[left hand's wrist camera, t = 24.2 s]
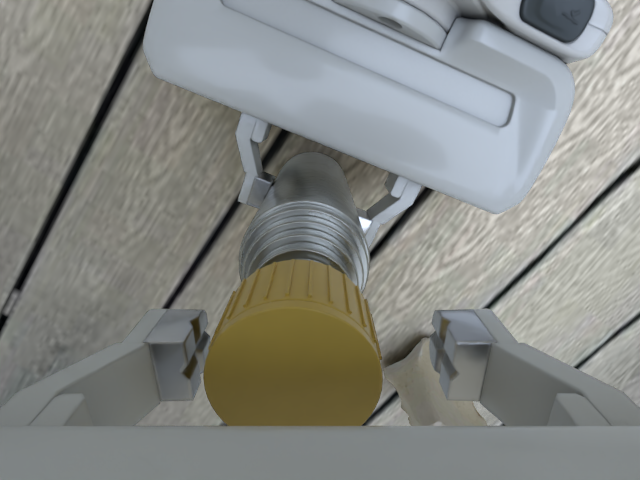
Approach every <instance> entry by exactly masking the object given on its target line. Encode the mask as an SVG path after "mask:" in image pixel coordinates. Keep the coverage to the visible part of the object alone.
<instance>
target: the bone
mask: <svg viewBox="0 0 640 480" xmlns="http://www.w3.org/2000/svg"><path fill="white" fill-rule="evenodd" d="M429 343H430V338H426V337H425V338H422V339H421V341H420V342H419V343H418V344H417V345H416V346H415V347H414V349H413V350H412V352H411V353H410V354H409V355H408V356H407V357H406V358H405V359H403V360H401V361H399V362H396V363H394V364H392V365H390V366H387V367H385V368H384V374H385V378H386V379H387V380H388V381H389V382H390V383H391V384H392V385H393V386H394V387H395V389H396V390H397V392H398V394H399V396H400V399H401V408H402V409H403V410H404V411H405V412H406V413H407V414H408V416H409V418H408V420H409V423H410V425H411V426H487V423H486V421H485V420H484V418H483V417H481V416H480V414H479V413H478V412H477V410H476V409H475V407H474V404H473V401H451V400H447V399H446V397H445V394H444V392H443V390H442V387H441V385H440V383H439V379H440V374H439V373H438V372H436V371H435V370H434V368H433V366H432V363H431V359H430V352H429Z"/></svg>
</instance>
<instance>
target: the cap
mask: <svg viewBox="0 0 640 480" xmlns="http://www.w3.org/2000/svg"><path fill="white" fill-rule="evenodd" d="M208 350H209V352H208V355H207V358H206V361H205V366H204V386H205V390H206V394H207V397H208V399H209V401H210V404H211V406H212V407H213V409H214V410H215V412H216V413H217V415H218V416H219V417H220V418H221V419H222V420H223V421H224V422H225V423H226V424H227V425H228V426H361V425H362V424H363V423H364V422H365V421H366V420H367V419H368V418H369V416H370V415H371V414H372V412H373V411H374V409H375V407H376V405H377V403H378V400H379V398H380V394H381V390H382V382H383V377H382V368H381V364H380V360H381V359H382V356H381V352H380V348H379V344H378V340H377V335H376V331H375V327H374V323H373V319H372V315H371V314H370V309H369V305H368V301H367V299H364V297H363V295H362V293H361V292H360V289H359V286H358V285H357V286H356V285H355V284H354V283H353V282H352V281H351V280H350V279H349V278H348V277H347V275H346V274H343V273H341V272H340V271H338V270H336V269H334V268H332V267H331V266H330V265H328V266H327V265H325V264H322V263H319V262H315V261H313V260H310V261H309V260H295V259H291V260H286V261H280V262H273V264H270V265H267V266H265V267H263V268H261V269H259V268H258V269H257V270H256V272H254V273H253V274H251V275H250V276H249V277H248V278H247V279H245V278H244V279H243V280H242V282H241V285H240V286H239V288H238V289H237V291H236V292H235V291H233V293H232V295H231V297H230V300H229V302H228V304H227V306H226V308H225V311H224V313H223V315H222V317H221V319H220V322H219V324H218V326H217V328H216V330H215V334H214V336H213V338H212V340H211V343H210V345H209V347H208Z"/></svg>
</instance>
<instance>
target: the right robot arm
mask: <svg viewBox="0 0 640 480" xmlns="http://www.w3.org/2000/svg"><path fill="white" fill-rule="evenodd" d="M612 23H613V11H612V8H611V6H610V4H609V3H608V1H607V0H154V2H153V5H152V9H151V12H150V15H149V19H148V23H147V27H146V31H145V35H144V40H143V50H144V54H145V56H146V58H147V61H148V63H149V66H150V68H151V70H152V72H153V74H154V75H155V76H156V77H157V78H159V79H161V80H164V81H166V82H169V83H171V84H173V85H176V86H178V87H181V88H183V89H186V90H188V91H191V92H193V93H196V94H198V95H201V96H203V97H206V98H208V99H211V100H213V101H216V102H218V103H220V104H223V105H225V106H228V107H230V108H233V109H235V110H238V111H240V112H242V113H241V116H240V120H239V123H238V126H237V130H236V133H235V136H236V140H237V144H238V148H239V152H240V157H241V161H242V165H243V169H244V172H246V175H245V178H244V181H243V185H242V188H241V191H240V194H239V197H238V201H239V202H241V203H243V204H247V205H250V206H252V207H255V208H258V209H259V208H260V206H261V204H262V203H263V201H264V199H265V197H266V195H267V194H268V192H269V190H270V188H271V187H272V185H273V183H274V180H275V177H276V176H273V175H271V174H268V173H266V172H263V169H262V163H261V158H260V153H259V147H258V143H261V142H262V141H264V140H265V139H267V137H268V134H269V131H270V129H271V126H272V125H275V126H277V127H280V128H282V129H285V130H287V131H290V132H292V133H295V134H297V135H300V136H302V137H304V138H307V139H309V140H312V141H314V142H317V143H319V144H322V145H324V146H327V147H329V148H332V149H334V150H337V151H339V152H342V153H344V154H346V155H349V156H351V157H354V158H356V159H359V160H361V161H364V162H366V163H369V164H371V165H374V166H376V167H379V168H381V169H384V170H386V171H388V172H390V173H389V175H388V178H387V180H386V182H385V184H384V185H385V187H386V189H387V190H388V191H389V194H387V195H386V196H385V197H383V198H382V199H381V200H379V201H378V202H377V203H376V204H374V205H373V206H372V207H370V208H369V209H368V210H367V211H364V210H362V209H359V208H356V210H357V213H358V216H359V219H360V223H361V226H362V229H363V232H364V235H365V238H366V241H367V244H368V248H369V247H370V245H371V243H372V241H373V239H374V237H375V235H376V233H377V231H378V229H379V227H380V224H382V225H383V224H385V223H386V222H388V221H389V220H391V219H392V218H393V217H395V216H396V215H398V214H399V213H401V212H402V211H404V210H405V209H407V208H408V207H410V206H411V205H412V204H413V202H414V200H415V198H416V196H417V194H418V193H419V191H420V189H421V187H422V185H423V186H426V187H428V188H430V189H433V190H435V191H438V192H440V193H443V194H445V195H448V196H450V197H453V198H455V199H458V200H460V201H463V202H465V203H468V204H470V205H473V206H475V207H477V208H480V209H482V210H485V211H487V212H490V213H492V214H499V213H502V212H504V211H506V210H508V209H510V208H512V207H513V206H515V205H517V204H519V203H520V202H521V201H522V200H523V199H524V197H525V196H526V195H527V193H528V192H529V190H530V189H531V187H532V186H533V184H534V182H535V180H536V179H537V177H538V175H539V174H540V172H541V170H542V168H543V167H544V165H545V163H546V161H547V159H548V158H549V156H550V154H551V152H552V150H553V148H554V146H555V144H556V142H557V140H558V138H559V136H560V134H561V132H562V130H563V128H564V126H565V123H566V121H567V119H568V116H569V114H570V111H571V108H572V105H573V101H574V94H575V83H574V78H573V75H572V73H571V71H570V69H569V68H568V66H567V65H566V64H568V63H572V62H575V61H579V60H583V59H586V58H588V57H590V56H591V55H593V54H594V53H595V52H596V50H597V49H598V48H599V47H600V45H601V44H602V42H603V41H604V39H605V38H606V35H607V34H608V32H609V30H610V28H611V26H612Z"/></svg>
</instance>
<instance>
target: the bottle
mask: <svg viewBox="0 0 640 480" xmlns="http://www.w3.org/2000/svg"><path fill="white" fill-rule="evenodd" d="M291 259H295V260H309V261H310V260H313V261H315V262H319V263H322V264H325V265H327V266H328V265H330V266H331V267H332V268H334V269H336V270H338V271H340V272H341V273H343V274H346V275H347V277H348V278H349V279H350V280H351V281H352V282H353V283H354V284H355V285H356V286H357V285H358V286H359V289H360V292H361V293H363V291H364V289H365V286H366V283H367V280H368V274H369V268H370V253H369V248H368V244H367V241H366V238H365V235H364V232H363V229H362V226H361V223H360V219H359V216H358V213H357V210H356V207H355V204H354V201H353V198H352V195H351V192H350V189H349V186H348V183H347V180H346V177H345V174H344V172H343V170H342V168H341V167H340V165H339V164H338V163H337V162H336V161H335V160H334V159H332V158H331V157H329V156H327V155H325V154H322V153H319V152H305V153H301V154H298V155H296V156H294V157H292V158H291V159H290V160H288V161H287V162H286V163H285V164H284V166H283V167H282V169H281V171H280V172H279V174H278V176H277V178H276V179H275V181H274V183H273V185H272V187H271V188H270V190H269V192H268V194H267V195H266V197H265V199H264V201H263V203H262V204H261V206H260V208H259V210H258V212H257V213H256V215H255V217H254V219H253V220H252V222H251V224H250V226H249V228H248V229H247V231H246V233H245V235H244V237H243V240H242V243H241V247H240V252H239V273H240V278H241V282H242V280H243V279H244V278H245V279H247V278H248V277H249V276H250V275H251V274H253V273H254V272H256V270H257V269H258V268H259V269H261V268H263V267H265V266H267V265H270V264H273V262H280V261H286V260H291Z"/></svg>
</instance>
